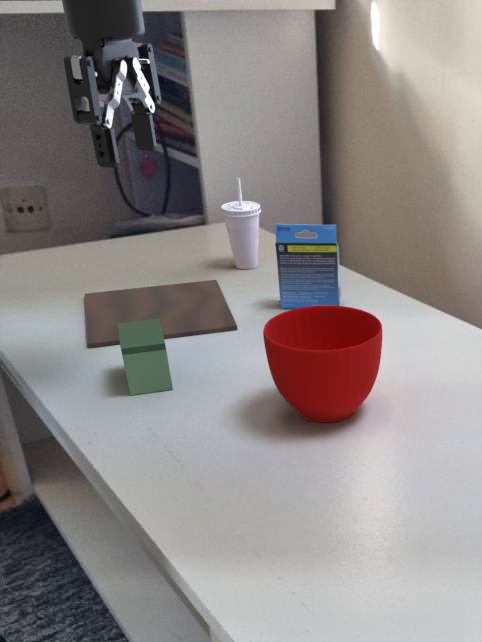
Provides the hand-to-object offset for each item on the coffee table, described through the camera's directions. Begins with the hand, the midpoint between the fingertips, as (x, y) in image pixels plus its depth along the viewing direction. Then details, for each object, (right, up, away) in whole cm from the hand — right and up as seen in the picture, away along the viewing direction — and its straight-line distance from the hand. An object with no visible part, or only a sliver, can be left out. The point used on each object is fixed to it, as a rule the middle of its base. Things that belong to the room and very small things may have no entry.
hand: (128, 157), depth 88 cm
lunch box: (-1, -22, +11) cm, 25 cm away
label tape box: (+17, -8, +32) cm, 37 cm away
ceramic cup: (+22, -26, +6) cm, 35 cm away
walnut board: (-5, -10, +29) cm, 31 cm away
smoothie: (+5, +2, +47) cm, 47 cm away
